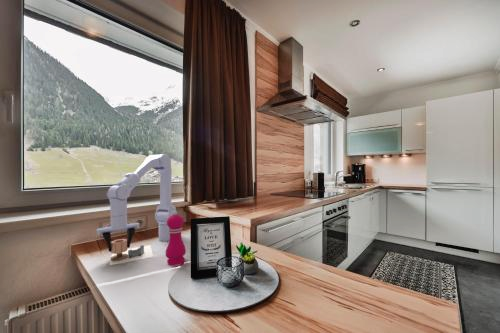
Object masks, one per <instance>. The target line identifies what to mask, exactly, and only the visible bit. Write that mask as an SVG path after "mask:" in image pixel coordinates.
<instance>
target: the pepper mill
mask: <svg viewBox="0 0 500 333" xmlns="http://www.w3.org/2000/svg"><path fill="white" fill-rule="evenodd" d="M183 225H184V218H183V216H182V215H180V214H178V211H177V210H176V211H174V212H173V215H172V216H170V217H169V218H168V220H167V226H168V227H169V229H168V230H169V231H168V232H169V233H170V240H169V241H168V243H167V244H168V245H167V246H166V248H165V249H166V250H165V257H166V259H167V260H166V262H167V265H168V266H173V268H178V267H180V266H183V265H184V264H185V255H186V251H187V250H186V247H185V246H186V245H185V244H184V241H183V239H182V232H183V227H182V226H183Z"/></svg>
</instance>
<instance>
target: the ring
mask: <svg viewBox="0 0 500 333" xmlns="http://www.w3.org/2000/svg"><path fill="white" fill-rule="evenodd" d="M127 249H128V247H127V238H121V239H115V240H112V241H111V252H110V254H111V255H112V254H118V253H123V252H125V251H127Z"/></svg>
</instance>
